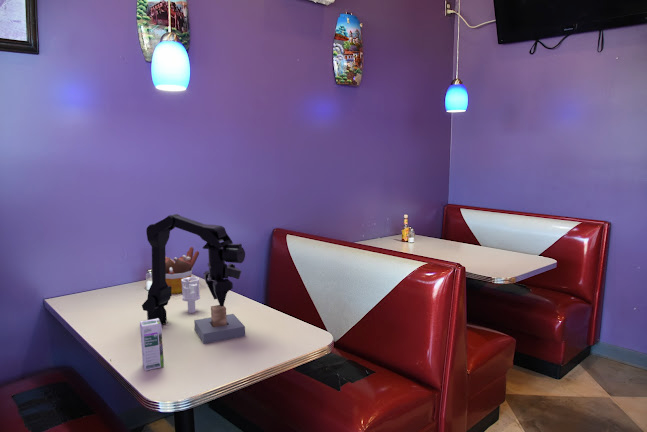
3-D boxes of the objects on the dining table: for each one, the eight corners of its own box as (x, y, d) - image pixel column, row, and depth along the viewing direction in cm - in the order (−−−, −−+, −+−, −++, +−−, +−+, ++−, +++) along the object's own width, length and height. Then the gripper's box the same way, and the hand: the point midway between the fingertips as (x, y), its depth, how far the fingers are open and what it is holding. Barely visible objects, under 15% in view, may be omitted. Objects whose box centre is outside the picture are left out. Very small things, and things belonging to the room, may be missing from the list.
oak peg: (214, 333, 174) (213, 309, 173) (211, 329, 178) (210, 306, 177) (226, 331, 176) (226, 308, 175) (223, 327, 180) (222, 304, 179)
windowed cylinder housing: (180, 314, 197) (178, 278, 195) (186, 308, 204) (185, 274, 202) (196, 314, 196) (195, 279, 194) (203, 308, 203) (201, 274, 201)
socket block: (203, 343, 167) (203, 333, 167) (194, 329, 181) (194, 320, 180) (245, 335, 174) (244, 326, 173) (233, 322, 187) (233, 313, 187)
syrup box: (144, 371, 147) (141, 326, 145) (142, 363, 152) (139, 320, 150) (164, 367, 150) (161, 323, 148) (161, 360, 155) (158, 317, 153)
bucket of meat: (165, 299, 217) (163, 256, 214) (150, 291, 229) (147, 250, 226) (205, 289, 230) (203, 249, 227) (188, 282, 242) (186, 244, 239)
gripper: (246, 263, 169) (247, 306, 171) (231, 253, 185) (233, 292, 187) (214, 267, 164) (216, 311, 166) (202, 256, 180) (204, 296, 182)
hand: (218, 302), depth 176 cm, fingers open, 9 cm apart
